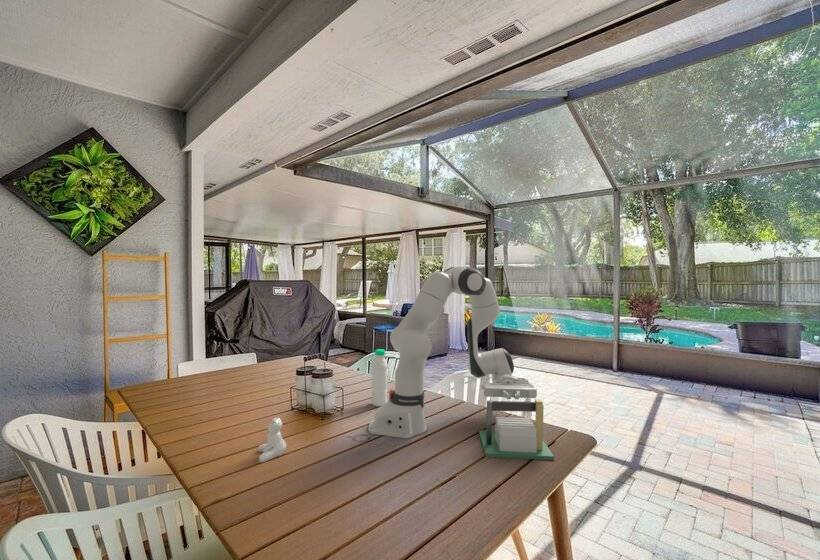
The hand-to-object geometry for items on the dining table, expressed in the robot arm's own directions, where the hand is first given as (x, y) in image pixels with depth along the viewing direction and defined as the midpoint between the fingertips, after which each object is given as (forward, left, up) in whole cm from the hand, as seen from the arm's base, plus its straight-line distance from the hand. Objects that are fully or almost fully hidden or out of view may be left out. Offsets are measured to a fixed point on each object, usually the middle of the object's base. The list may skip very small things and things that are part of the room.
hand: (513, 397), depth 138 cm
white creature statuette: (-82, -22, -15) cm, 86 cm away
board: (-1, -8, -15) cm, 17 cm away
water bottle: (-54, +28, -15) cm, 63 cm away
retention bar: (-2, -9, -13) cm, 16 cm away
